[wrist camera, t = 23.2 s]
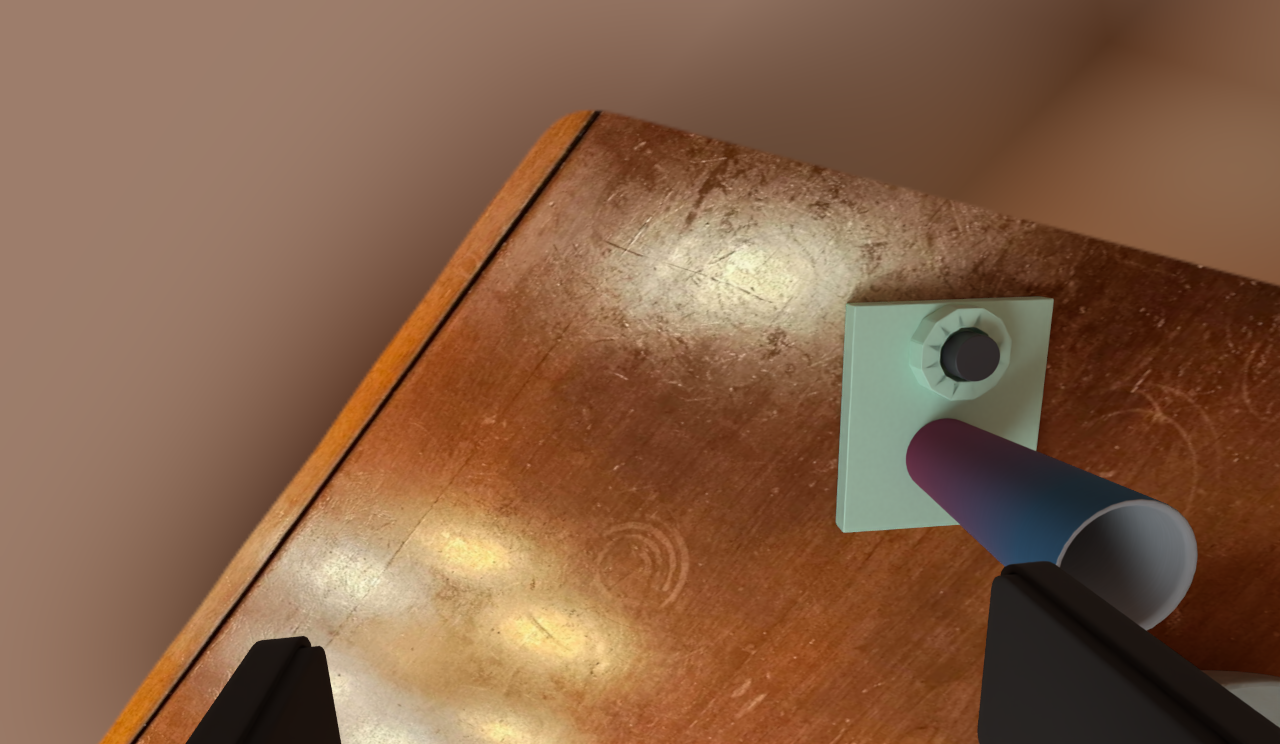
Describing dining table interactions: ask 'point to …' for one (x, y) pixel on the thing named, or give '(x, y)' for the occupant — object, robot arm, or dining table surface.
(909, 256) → the dining table surface
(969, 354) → the tare button
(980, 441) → the cup
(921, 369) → the scale
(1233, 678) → the bowl
